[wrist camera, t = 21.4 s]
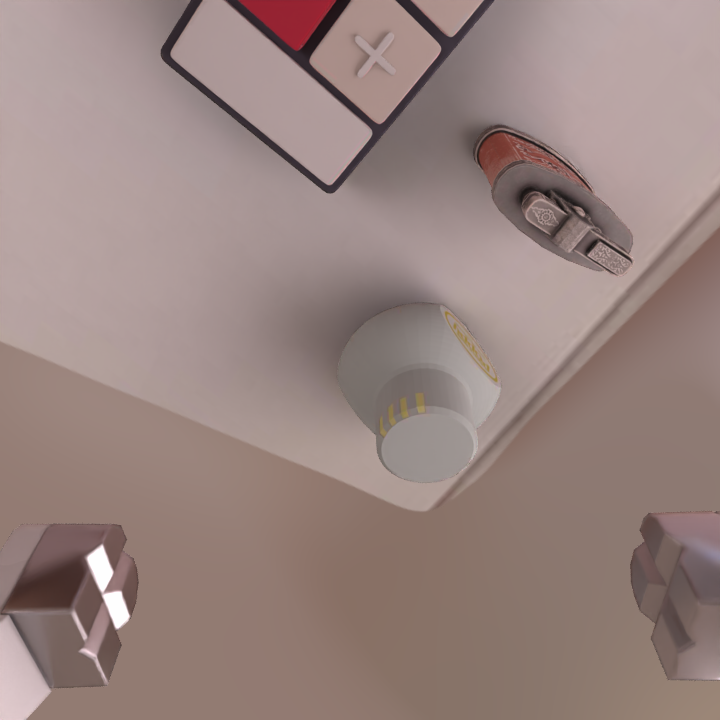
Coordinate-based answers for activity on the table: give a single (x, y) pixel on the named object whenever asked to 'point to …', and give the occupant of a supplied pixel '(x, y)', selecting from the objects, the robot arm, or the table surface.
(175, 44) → the calculator
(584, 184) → the lighter
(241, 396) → the table surface
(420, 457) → the air freshener
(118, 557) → the robot arm
